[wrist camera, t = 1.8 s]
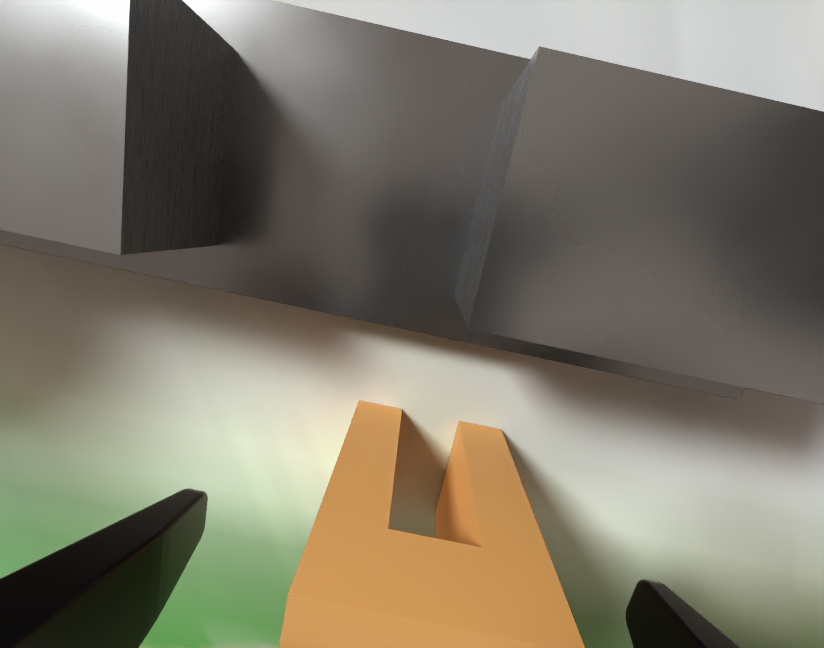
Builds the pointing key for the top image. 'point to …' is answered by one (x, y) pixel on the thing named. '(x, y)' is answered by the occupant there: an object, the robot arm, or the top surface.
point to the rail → (422, 185)
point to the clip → (426, 555)
